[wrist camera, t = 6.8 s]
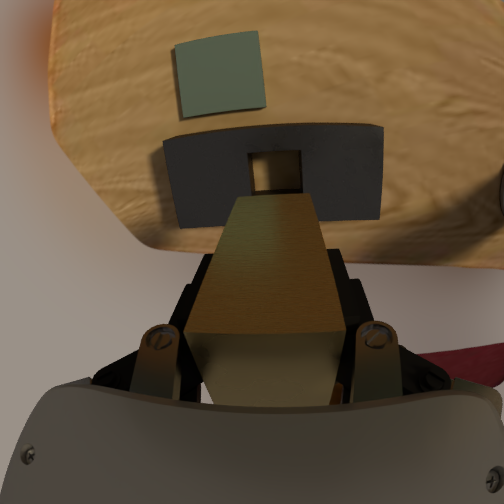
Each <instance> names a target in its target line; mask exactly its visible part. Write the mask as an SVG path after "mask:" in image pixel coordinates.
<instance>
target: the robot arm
mask: <svg viewBox="0 0 504 504" xmlns="http://www.w3.org/2000/svg"><path fill="white" fill-rule="evenodd" d="M500 202H501V209H502V212H503V215H504V174H503V178H502V183H501V191H500ZM326 250H327V253H328V257H329V261H330V264H331V268H332V272H333V276H334V280H335V284H336V288H337V292H338V296H339V300H340V305H341V309H342V313H343V318H344V322H345V327H346V334H345V339H344V344H343V349H342V354H341V358H340V363H339V367H338V371H337V375H336V379H335V380H336V381H337V382H339V383H340V384H342V385H343V386H342V394H341V403H340V404H338V405H325V406H306V407H248V406H229V405H216V404H206V403H201V383H202V382H204V381H203V379H202V376H201V374H200V372H199V370H198V367H197V365H196V362H195V360H194V358H193V355H192V353H191V350H190V348H189V345H188V343H187V340H186V338H185V335H184V332H183V331H184V329H185V326H186V323H187V321H188V318H189V315H190V313H191V310H192V308H193V305H194V302H195V300H196V297H197V295H198V292H199V290H200V287H201V285H202V282H203V279H204V277H205V274H206V272H207V269H208V267H209V264H210V262H211V259H212V257H213V255H214V254H205V255H204V257H203V259H202V261H201V263H200V265H199V267H198V270H197V272H196V274H195V276H194V279H193V281H192V283H191V284H187V285H186V286H185V288H184V290H183V292H182V294H181V297H180V299H179V301H178V303H177V305H176V307H175V310H174V312H173V314H172V316H171V319H170V321H169V323H168V324H160V325H156V326H154V327H152V328H150V329H149V330H147V331H146V332H145V334H144V335H143V337H142V339H141V344H140V347H139V349H138V350H137V351H135V352H133V353H131V354H129V355H127V356H125V357H123V358H121V359H119V360H117V361H115V362H113V363H111V364H109V365H108V366H106V367H104V368H102V369H101V370H99V371H98V372H97V373H96V374H95V375H94V377H93V379H91V378H90V377H87V378H83V379H81V380H77V381H73V382H70V383H66V384H63V385H59V386H55V387H53V388H51V389H50V390H48V391H47V392H46V393H45V394H44V395H43V396H42V397H41V399H40V400H39V402H38V403H37V405H36V406H35V408H34V409H33V411H32V413H31V414H30V416H29V418H28V420H27V422H26V424H25V426H24V428H23V430H22V432H21V435H20V437H19V439H18V442H17V444H16V447H15V450H14V452H13V455H12V457H11V460H10V463H9V466H8V468H7V472H6V475H5V478H4V482H3V486H2V490H1V494H0V504H504V426H503V423H502V420H501V412H502V397H501V395H500V393H499V392H498V391H497V390H495V389H493V388H491V387H487V386H483V385H480V384H476V383H473V382H470V381H466V380H463V379H460V378H456V377H455V379H454V380H452V379H450V377H449V375H448V374H447V372H446V371H445V370H443V369H442V368H440V367H439V366H437V365H435V364H433V363H431V362H429V361H427V360H425V359H424V358H422V357H420V356H418V355H416V354H414V353H412V352H411V351H408V350H407V349H405V348H403V347H401V346H400V345H398V337H397V334H396V331H395V330H394V329H393V328H392V327H391V326H390V325H388V324H386V323H384V322H380V321H374V318H373V315H372V313H371V310H370V307H369V304H368V301H367V298H366V295H365V293H364V290H363V287H362V284H361V281H360V280H359V279H349V276H348V273H347V270H346V267H345V264H344V261H343V258H342V255H341V252H340V250H339V249H326Z"/></svg>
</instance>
